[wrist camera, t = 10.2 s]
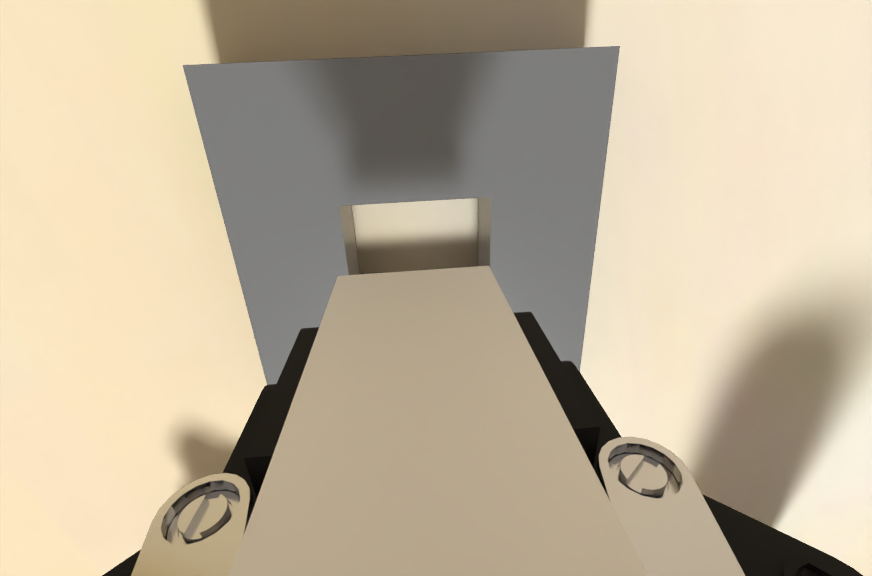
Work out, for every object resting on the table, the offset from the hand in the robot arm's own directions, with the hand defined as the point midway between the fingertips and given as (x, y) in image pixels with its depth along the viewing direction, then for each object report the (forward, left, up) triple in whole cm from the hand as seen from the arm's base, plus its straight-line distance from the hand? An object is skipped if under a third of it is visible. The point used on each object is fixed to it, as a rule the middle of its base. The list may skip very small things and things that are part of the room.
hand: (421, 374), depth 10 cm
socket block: (0, 0, -10) cm, 10 cm away
